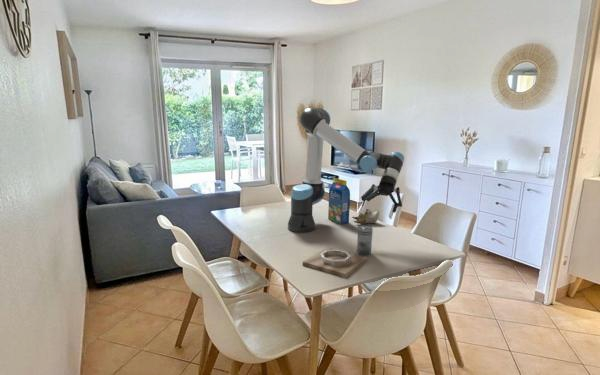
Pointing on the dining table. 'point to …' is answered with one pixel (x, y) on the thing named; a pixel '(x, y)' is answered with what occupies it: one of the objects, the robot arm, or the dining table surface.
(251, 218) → the dining table surface
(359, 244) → the cylinder
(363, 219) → the ceramic sculpture
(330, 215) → the blue food package
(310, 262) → the walnut board
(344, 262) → the steel ring
